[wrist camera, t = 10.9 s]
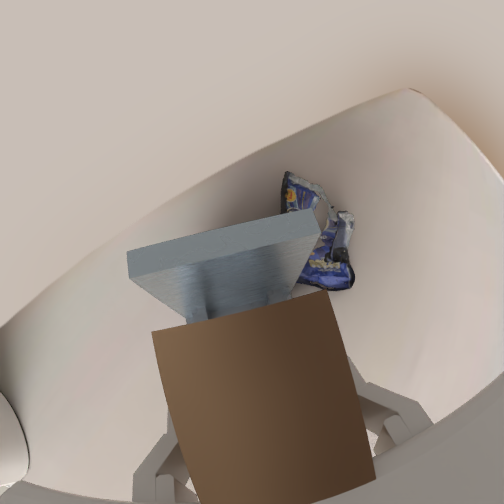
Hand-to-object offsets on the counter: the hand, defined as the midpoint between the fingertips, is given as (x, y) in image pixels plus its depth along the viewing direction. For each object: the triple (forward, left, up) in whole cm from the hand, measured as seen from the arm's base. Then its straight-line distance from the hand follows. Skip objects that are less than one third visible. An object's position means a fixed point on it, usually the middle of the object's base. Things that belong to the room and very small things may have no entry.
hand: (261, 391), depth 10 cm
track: (0, -1, -16) cm, 16 cm away
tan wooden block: (0, -1, -6) cm, 6 cm away
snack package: (+9, +11, -16) cm, 22 cm away
